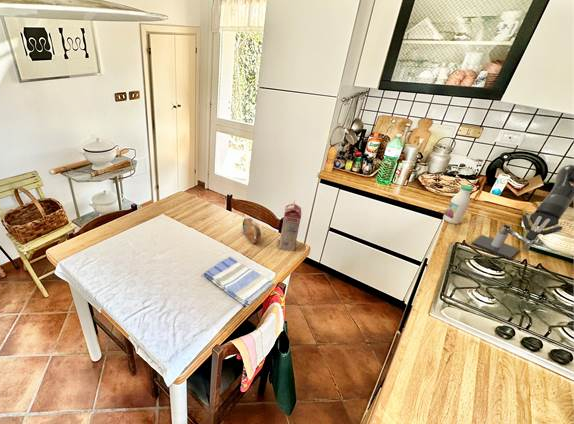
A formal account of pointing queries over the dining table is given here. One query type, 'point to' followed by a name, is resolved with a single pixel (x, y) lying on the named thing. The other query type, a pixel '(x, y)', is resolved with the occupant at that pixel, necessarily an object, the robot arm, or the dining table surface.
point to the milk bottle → (458, 205)
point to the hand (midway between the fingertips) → (529, 239)
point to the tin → (251, 230)
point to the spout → (507, 229)
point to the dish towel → (239, 281)
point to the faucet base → (499, 251)
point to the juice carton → (290, 227)
